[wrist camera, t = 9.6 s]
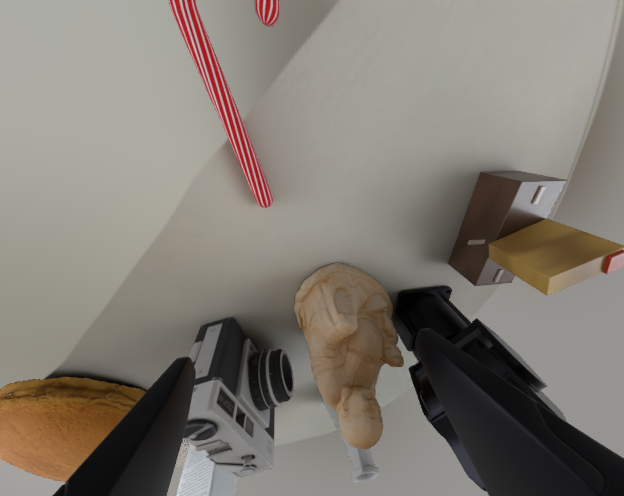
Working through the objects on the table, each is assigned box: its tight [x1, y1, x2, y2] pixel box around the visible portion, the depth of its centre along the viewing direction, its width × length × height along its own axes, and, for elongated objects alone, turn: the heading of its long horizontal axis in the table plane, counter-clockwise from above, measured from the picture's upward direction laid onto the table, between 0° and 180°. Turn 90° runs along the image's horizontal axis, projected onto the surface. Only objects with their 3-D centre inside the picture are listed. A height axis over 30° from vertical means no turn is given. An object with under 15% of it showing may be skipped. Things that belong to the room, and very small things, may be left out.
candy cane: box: [169, 0, 279, 208], centre depth 15 cm, size 6×15×2 cm, turn 17°
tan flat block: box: [489, 219, 624, 295], centre depth 17 cm, size 5×2×5 cm, turn 115°
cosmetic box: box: [176, 444, 238, 496], centre depth 29 cm, size 6×4×12 cm
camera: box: [183, 317, 294, 477], centre depth 24 cm, size 14×9×10 cm, turn 8°
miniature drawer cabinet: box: [448, 171, 567, 286], centre depth 21 cm, size 10×9×4 cm
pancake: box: [0, 377, 146, 482], centre depth 28 cm, size 20×20×5 cm
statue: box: [294, 263, 404, 449], centre depth 22 cm, size 12×14×10 cm
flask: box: [322, 397, 379, 483], centre depth 31 cm, size 7×7×10 cm
